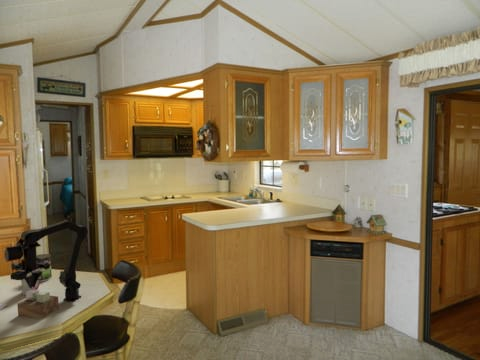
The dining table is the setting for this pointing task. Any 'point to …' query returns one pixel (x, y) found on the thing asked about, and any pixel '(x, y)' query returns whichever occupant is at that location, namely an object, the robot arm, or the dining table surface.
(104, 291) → the dining table surface
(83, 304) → the dining table surface
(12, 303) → the dining table surface
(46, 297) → the sage peg
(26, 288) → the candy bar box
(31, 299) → the steel peg
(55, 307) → the walnut block
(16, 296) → the dining table surface
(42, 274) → the coffee can
